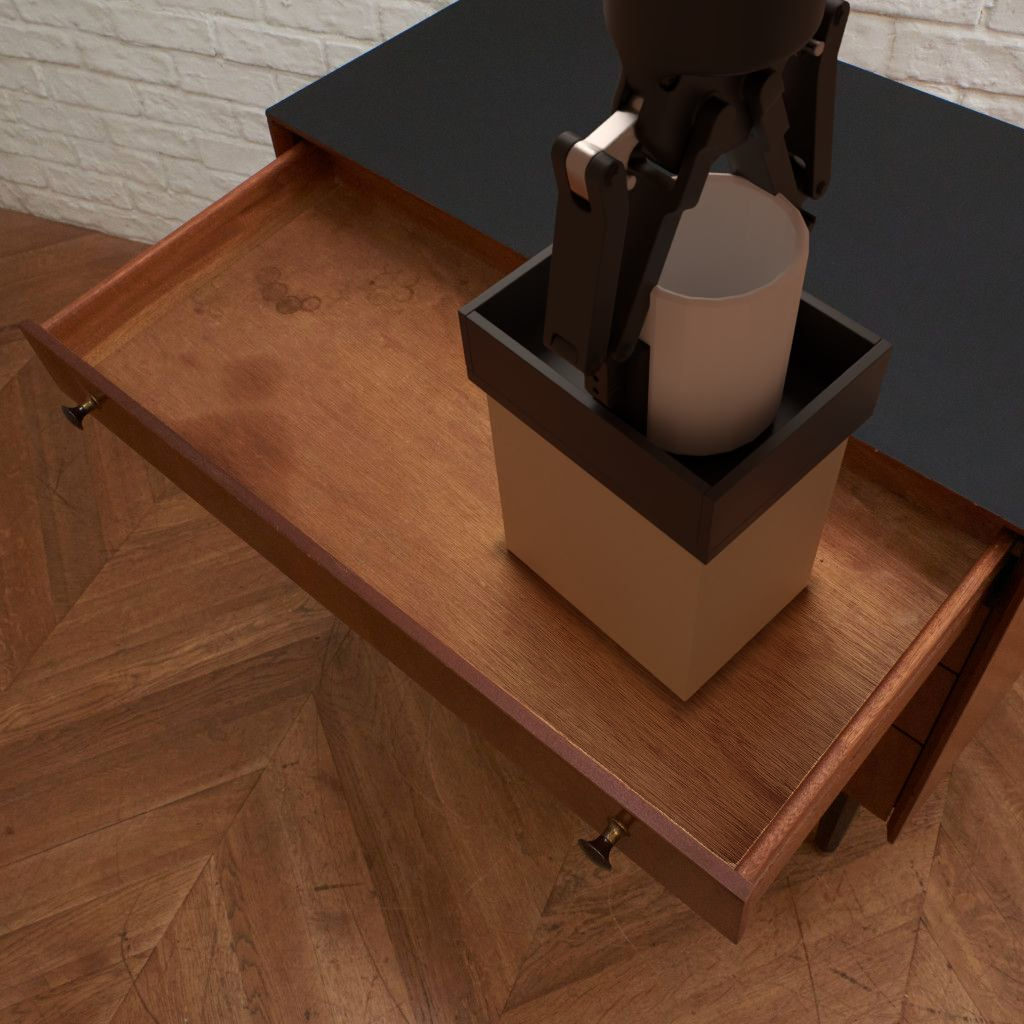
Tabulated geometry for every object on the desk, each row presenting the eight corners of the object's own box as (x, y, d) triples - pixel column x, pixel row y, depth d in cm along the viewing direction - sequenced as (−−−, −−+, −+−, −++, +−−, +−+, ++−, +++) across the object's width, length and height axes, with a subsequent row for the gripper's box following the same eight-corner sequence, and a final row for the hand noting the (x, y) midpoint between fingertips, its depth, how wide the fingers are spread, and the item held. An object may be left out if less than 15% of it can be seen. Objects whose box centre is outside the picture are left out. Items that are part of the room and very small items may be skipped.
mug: (625, 271, 60) (628, 110, 52) (814, 385, 55) (849, 225, 47) (518, 357, 57) (502, 200, 49) (706, 487, 52) (724, 334, 44)
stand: (808, 584, 69) (855, 415, 56) (684, 702, 65) (704, 550, 52) (627, 448, 76) (631, 268, 63) (506, 547, 72) (483, 379, 59)
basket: (873, 415, 56) (894, 344, 52) (705, 566, 52) (714, 503, 48) (631, 258, 63) (633, 185, 59) (467, 379, 59) (456, 310, 55)
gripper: (832, -243, 42) (764, 234, 61) (395, 5, 35) (470, 461, 53) (1012, -183, 39) (882, 303, 57) (569, 107, 31) (584, 557, 50)
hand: (683, 379), depth 55 cm, fingers closed on mug, 8 cm apart
